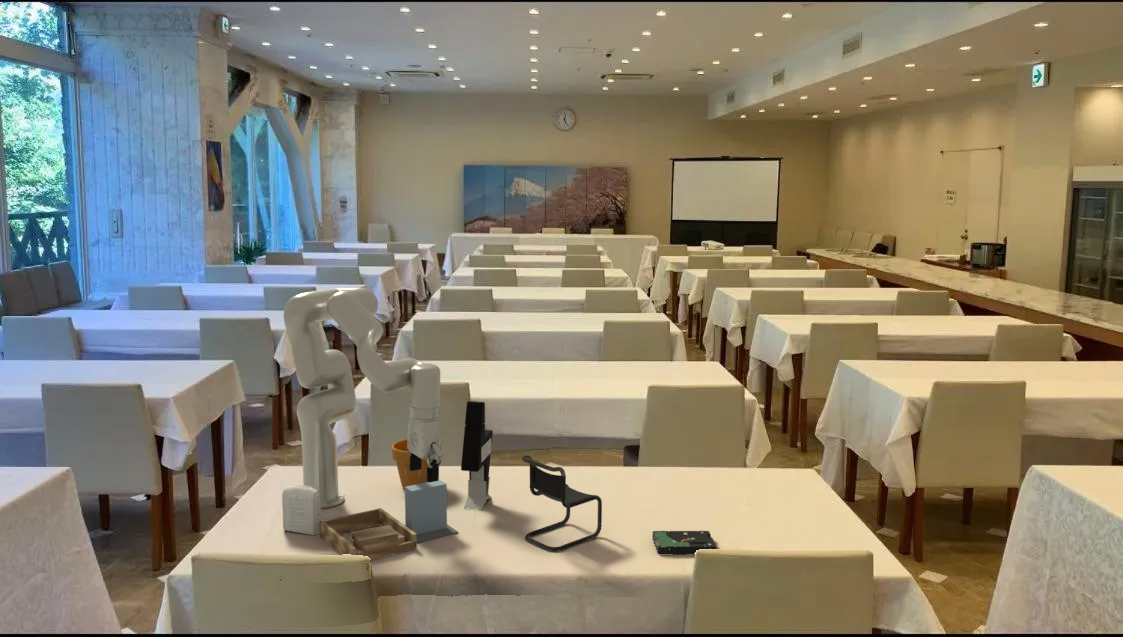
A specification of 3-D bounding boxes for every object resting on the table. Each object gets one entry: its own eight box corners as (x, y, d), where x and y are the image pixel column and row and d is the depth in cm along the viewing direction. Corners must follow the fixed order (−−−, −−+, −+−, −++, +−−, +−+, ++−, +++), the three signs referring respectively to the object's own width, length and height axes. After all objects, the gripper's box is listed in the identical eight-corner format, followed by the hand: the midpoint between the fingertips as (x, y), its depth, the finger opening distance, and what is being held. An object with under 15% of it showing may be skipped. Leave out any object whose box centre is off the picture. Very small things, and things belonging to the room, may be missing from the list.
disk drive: (708, 540, 241) (651, 540, 240) (708, 530, 241) (651, 530, 240) (717, 557, 231) (657, 557, 230) (717, 546, 231) (658, 546, 230)
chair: (519, 538, 239) (519, 456, 236) (567, 521, 251) (568, 443, 248) (553, 554, 230) (554, 468, 226) (602, 536, 242) (603, 454, 238)
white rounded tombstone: (324, 530, 244) (322, 485, 242) (315, 536, 240) (313, 490, 238) (290, 525, 247) (288, 480, 245) (280, 531, 243) (278, 486, 241)
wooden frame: (320, 536, 240) (319, 521, 239) (381, 522, 249) (381, 508, 249) (352, 565, 223) (351, 549, 222) (416, 548, 232) (416, 533, 232)
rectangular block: (405, 530, 243) (404, 486, 241) (439, 522, 248) (439, 479, 247) (412, 535, 240) (411, 491, 238) (446, 527, 245) (446, 483, 243)
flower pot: (394, 479, 283) (393, 438, 281) (441, 478, 285) (440, 437, 283) (391, 495, 269) (390, 452, 267) (440, 494, 271) (440, 451, 269)
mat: (396, 528, 245) (396, 526, 245) (436, 518, 252) (436, 517, 252) (416, 543, 236) (416, 542, 236) (458, 533, 243) (458, 531, 242)
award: (478, 513, 256) (478, 408, 251) (460, 512, 257) (459, 406, 252) (493, 495, 271) (493, 394, 266) (476, 493, 272) (475, 393, 267)
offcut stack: (347, 549, 231) (347, 532, 231) (393, 539, 238) (392, 522, 238) (359, 560, 225) (359, 542, 225) (406, 548, 232) (405, 531, 232)
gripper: (396, 405, 244) (396, 467, 247) (427, 422, 230) (426, 488, 233) (422, 402, 248) (421, 463, 251) (454, 418, 234) (452, 483, 237)
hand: (423, 475), depth 242 cm, fingers open, 9 cm apart
